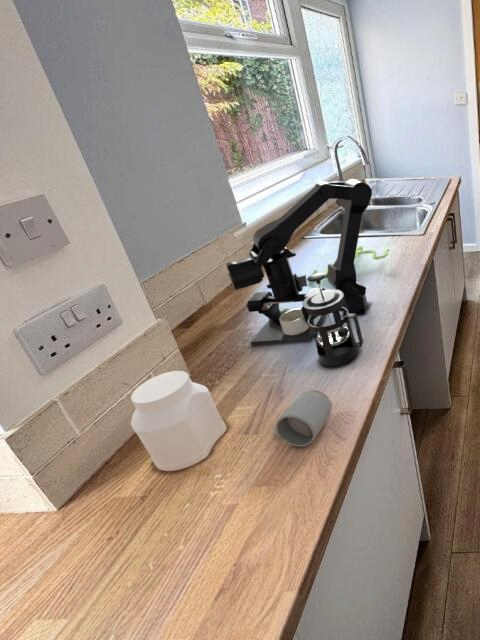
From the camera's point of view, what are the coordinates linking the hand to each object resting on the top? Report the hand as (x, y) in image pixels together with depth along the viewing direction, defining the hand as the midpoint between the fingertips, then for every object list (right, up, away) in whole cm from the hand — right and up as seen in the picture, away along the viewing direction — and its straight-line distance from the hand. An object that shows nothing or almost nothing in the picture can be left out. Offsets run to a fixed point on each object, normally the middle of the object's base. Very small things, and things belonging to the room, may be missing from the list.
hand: (296, 325), depth 111 cm
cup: (0, -1, 0) cm, 1 cm away
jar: (-3, -18, -32) cm, 37 cm away
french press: (+16, -6, -9) cm, 19 cm away
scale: (-3, -2, +3) cm, 4 cm away
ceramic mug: (+18, -16, -30) cm, 38 cm away
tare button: (-7, +2, +5) cm, 9 cm away
